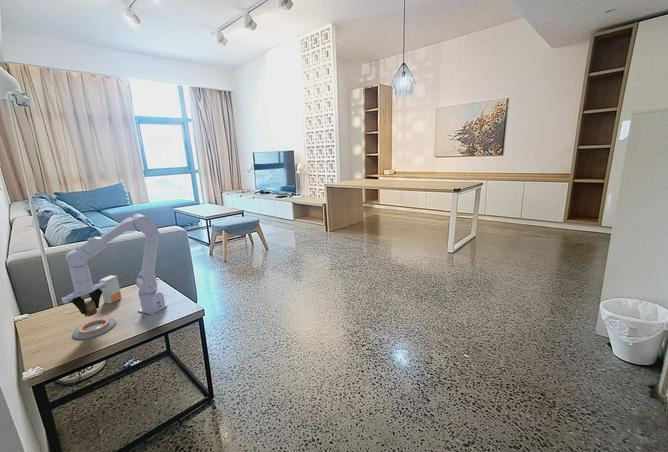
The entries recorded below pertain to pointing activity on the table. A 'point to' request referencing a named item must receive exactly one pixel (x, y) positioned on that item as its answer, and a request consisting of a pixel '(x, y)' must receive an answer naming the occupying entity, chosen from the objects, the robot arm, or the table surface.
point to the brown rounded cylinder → (90, 308)
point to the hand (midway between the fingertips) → (90, 310)
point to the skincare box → (110, 289)
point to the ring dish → (94, 328)
